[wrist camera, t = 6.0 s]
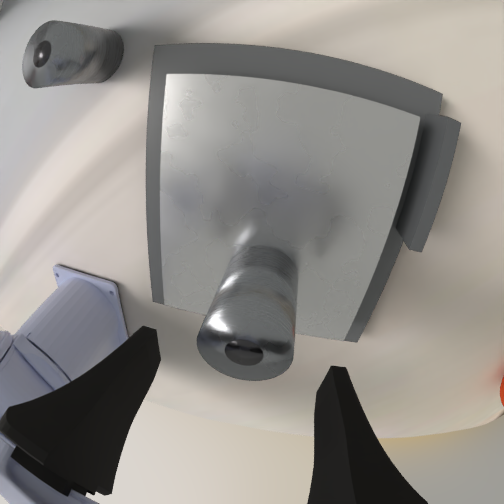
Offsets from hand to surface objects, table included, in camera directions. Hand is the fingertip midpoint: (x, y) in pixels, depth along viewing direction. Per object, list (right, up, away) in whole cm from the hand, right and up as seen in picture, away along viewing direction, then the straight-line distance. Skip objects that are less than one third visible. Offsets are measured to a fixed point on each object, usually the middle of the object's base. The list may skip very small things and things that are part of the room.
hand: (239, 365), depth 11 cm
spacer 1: (-10, +18, +3) cm, 20 cm away
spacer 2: (+1, +3, +5) cm, 6 cm away
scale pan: (+2, +7, +5) cm, 9 cm away
